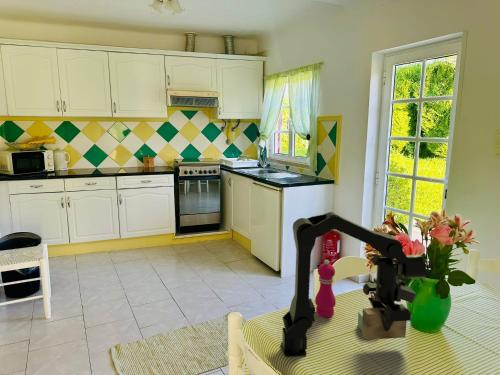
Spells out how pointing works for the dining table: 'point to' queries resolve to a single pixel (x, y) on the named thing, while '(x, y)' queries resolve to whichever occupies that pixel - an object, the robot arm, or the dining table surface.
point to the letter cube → (360, 319)
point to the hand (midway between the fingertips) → (383, 327)
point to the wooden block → (380, 326)
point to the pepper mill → (325, 290)
